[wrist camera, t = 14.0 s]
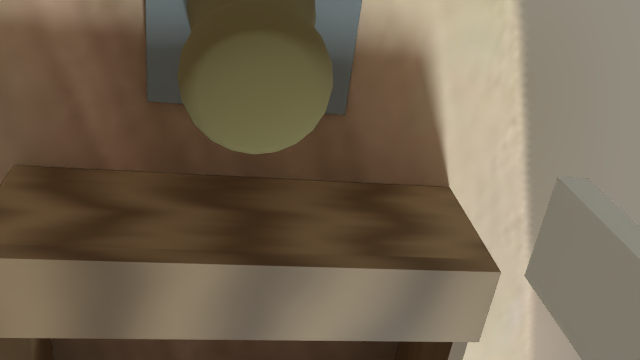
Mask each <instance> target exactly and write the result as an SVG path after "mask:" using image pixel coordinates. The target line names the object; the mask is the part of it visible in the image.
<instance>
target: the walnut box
mask: <svg viewBox="0 0 640 360" xmlns="http://www.w3.org/2000/svg"><path fill="white" fill-rule="evenodd" d="M500 274H501V271H500V270H499V268H498V266H497V265H496V263H495V262H494V260H493V258H492V257H491V255H490V253H489V252H488V250H487V248H486V247H485V245H484V243H483V242H482V240H481V238H480V237H479V235H478V233H477V232H476V230H475V228H474V227H473V225H472V223H471V222H470V220H469V219H468V217H467V215H466V214H465V212H464V210H463V209H462V207H461V205H460V204H459V202H458V200H457V199H456V197H455V195H454V194H453V192H452V190H451V189H450V187H433V186H413V185H393V184H373V183H354V182H334V181H314V180H294V179H274V178H254V177H234V176H214V175H194V174H174V173H154V172H134V171H114V170H94V169H74V168H55V167H35V166H15V165H14V166H13V168H12V169H11V170H10V172H9V173H8V175H7V176H6V178H5V179H4V180H3V182H2V183H1V185H0V360H54V359H53V351H52V342H51V338H76V339H187V340H298V341H399V346H398V350H397V354H396V358H395V360H462V359H463V356H464V353H465V350H466V346H467V343H468V342H479V340H480V337H481V334H482V330H483V327H484V324H485V321H486V318H487V315H488V312H489V308H490V305H491V302H492V299H493V296H494V293H495V290H496V287H497V283H498V280H499V277H500Z"/></svg>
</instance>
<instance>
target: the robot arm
mask: <svg viewBox="0 0 640 360" xmlns="http://www.w3.org/2000/svg"><path fill="white" fill-rule="evenodd" d="M525 277H526V279H527V280H528V282H529V283H530V285H531V286H532V287H533V289H534V290H535V292H536V293H537V295H538V296H539V298H540V299H541V300H542V302H543V304H544V305H545V306H546V308H547V309H548V310H549V312H550V314H551V315H552V317H553V318H554V320H555V321H556V322H557V324H558V325H559V327H560V328H561V330H562V331H563V333H564V334H565V335H566V337H567V338H568V340H569V342H570V343H571V344H572V346H573V347H574V349H575V350H576V352H577V353H578V355H579V356H580V358H581V359H582V360H640V225H639V224H638V223H637V222H635V220H633V219H632V218H631V217H630V216H629V215H628V214H627V213H626V212H625V211H624V210H623V209H622V208H620V207H619V206H618V205H617V204H616V203H615V202H614V201H613V200H612V199H611V198H610V197H608V196H607V195H606V194H605V193H604V192H603V191H602V190H601V189H600V188H599V187H598V186H597V185H595V184H594V183H593V182H592V181H591V180H590V179H589V178H572V177H557V180H556V183H555V187H554V189H553V192H552V195H551V198H550V201H549V204H548V207H547V210H546V213H545V216H544V219H543V222H542V225H541V228H540V231H539V234H538V237H537V240H536V243H535V246H534V249H533V252H532V255H531V258H530V261H529V264H528V267H527V270H526V273H525Z"/></svg>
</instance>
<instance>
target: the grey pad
mask: <svg viewBox="0 0 640 360" xmlns="http://www.w3.org/2000/svg"><path fill="white" fill-rule="evenodd" d="M361 3H362V0H315V10H316V22H315V29H316V30H317V31H318V33H319V34H320V35H321V37H322V39H323V41H324V43H325V46H326V49H327V51H328V54H329V56H330V59H331V61H332V73H333V88H332V91H331V95H330V98H329V102H328V105H327V109H326V112H325V113H326V114H341V115H345V111H346V105H347V98H348V91H349V84H350V78H351V71H352V64H353V57H354V51H355V44H356V37H357V30H358V23H359V17H360V10H361ZM187 4H188V0H146V52H147V101H149V102H163V103H178V104H183V102H182V100H181V96H180V90H179V85H178V79H177V73H178V67H179V61H180V55H181V51H182V48H183V46H184V44H185V42H186V41H187V39H188V37H189V35H190V33H191V29H190V24H189V17H188V11H187Z"/></svg>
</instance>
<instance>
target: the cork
mask: <svg viewBox="0 0 640 360" xmlns="http://www.w3.org/2000/svg"><path fill="white" fill-rule="evenodd" d="M187 11H188V17H189V24H190V29H191V33H190V35H189V37H188V39H187V41H186V42H185V44H184V46H183V48H182V51H181V55H180V61H179V67H178V73H177V79H178V85H179V90H180V96H181V100H182V102H183V105H184V106H185V108H186V110H187V112H188V114H189V116H190V117H191V119H192V121H193V123H194V125H195V126H196V127H197V128H198V129H200V130H201V131H202V132H203V133H204V134H205V135H206V136H207V137H208V138H209V139H210V140H211V141H213V142H215V143H217V144H219V145H221V146H223V147H225V148H227V149H229V150H232V151H237V152H243V153H248V154H263V153H273V152H277V151H280V150H282V149H285V148H287V147H290V146H292V145H295V144H297V143H298V142H299V141H300V140H302V139H303V138H304V137H305V136H307V135H308V134H309V133H310V132H312V131H313V130H314V128H315V127H316V125H317V124H318V122H319V121H320V119H321V118H322V116H323V115H324V113H325V112H326V109H327V105H328V102H329V98H330V95H331V91H332V88H333V73H332V61H331V59H330V56H329V54H328V51H327V49H326V46H325V43H324V41H323V39H322V37H321V35H320V34H319V33H318V31H317V30H316V29H315V22H316V10H315V0H188V4H187Z"/></svg>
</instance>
